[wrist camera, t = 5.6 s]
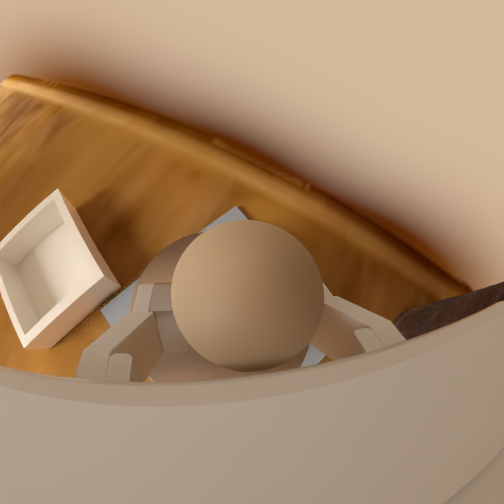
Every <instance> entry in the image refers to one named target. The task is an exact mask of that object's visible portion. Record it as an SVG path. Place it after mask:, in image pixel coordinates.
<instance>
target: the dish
mask: <svg viewBox="0 0 504 504" xmlns="http://www.w3.org/2000/svg"><path fill="white" fill-rule="evenodd" d="M120 288H122V287H121V285H120V284H119V282H118V281H117V279H116V278H115V276H114V275H113V273H112V272H111V270H110V268H109V267H108V265H107V264H106V262H105V260H104V259H103V257H102V255H101V254H100V252H99V250H98V249H97V247H96V245H95V243H94V242H93V240H92V238H91V236H90V235H89V233H88V231H87V229H86V227H85V226H84V224H83V222H82V220H81V218H80V216H79V214H78V212H77V210H76V209H75V208H74V207H73V205H72V204H71V203H70V202H69V201H68V200H67V198H66V197H65V196H64V195H63V194H62V192H61V191H60V190H59V189H56V190H55V191H54V192H53V193H51V194H50V195H49V196H48V197H47V198H46V199H44V200H43V201H42V202H41V203H40V204H39V205H38V206H37V207H35V208H34V209H33V210H32V211H31V212H30V213H29V214H28V215H27V216H26V217H25V218H24V219H23V220H22V221H20V222H19V223H18V224H17V225H16V226H15V227H14V228H13V229H12V230H11V231H10V233H9V234H8V235H7V236H6V237H5V238H4V239H3V240H2V241H1V242H0V292H1V295H2V298H3V300H4V303H5V306H6V308H7V311H8V313H9V316H10V318H11V321H12V323H13V325H14V328H15V330H16V332H17V334H18V337H19V339H20V341H21V343H22V345H23V347H24V348H33V349H51V348H52V347H53V346H54V345H55V344H56V343H57V342H58V341H59V340H60V339H62V338H63V337H64V336H65V335H66V334H67V333H68V332H69V331H71V330H72V329H73V328H74V327H75V326H76V325H77V324H79V323H80V322H81V321H82V320H83V319H84V318H86V317H87V316H88V315H89V314H90V313H91V312H93V311H94V310H95V309H96V308H97V307H98V306H100V305H101V304H102V303H103V302H104V301H106V300H107V299H108V298H109V297H111V296H112V295H113V294H114V293H115V292H117V291H118V290H119V289H120Z"/></svg>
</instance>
